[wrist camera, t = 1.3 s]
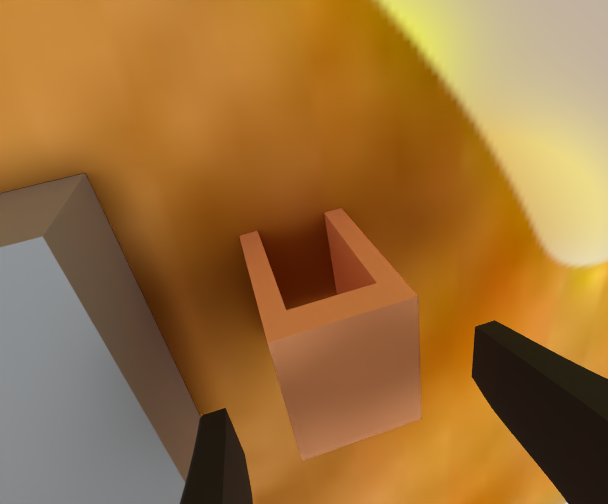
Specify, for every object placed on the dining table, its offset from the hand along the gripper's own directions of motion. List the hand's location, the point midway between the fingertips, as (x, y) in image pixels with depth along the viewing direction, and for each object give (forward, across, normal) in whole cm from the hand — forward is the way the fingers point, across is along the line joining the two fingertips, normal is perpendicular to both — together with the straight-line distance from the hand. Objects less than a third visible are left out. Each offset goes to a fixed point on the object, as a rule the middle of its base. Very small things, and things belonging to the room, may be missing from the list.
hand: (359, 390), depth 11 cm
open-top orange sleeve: (+6, 0, 0) cm, 6 cm away
